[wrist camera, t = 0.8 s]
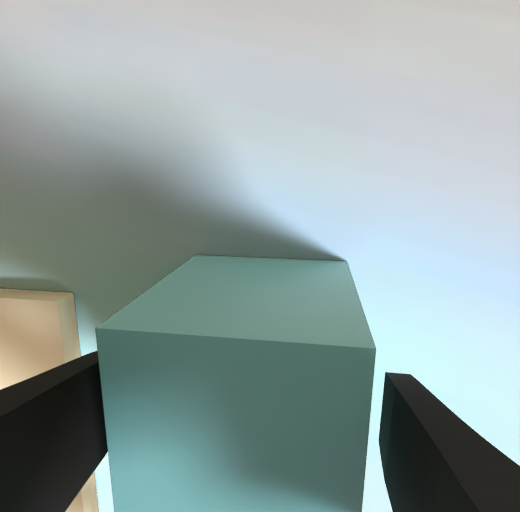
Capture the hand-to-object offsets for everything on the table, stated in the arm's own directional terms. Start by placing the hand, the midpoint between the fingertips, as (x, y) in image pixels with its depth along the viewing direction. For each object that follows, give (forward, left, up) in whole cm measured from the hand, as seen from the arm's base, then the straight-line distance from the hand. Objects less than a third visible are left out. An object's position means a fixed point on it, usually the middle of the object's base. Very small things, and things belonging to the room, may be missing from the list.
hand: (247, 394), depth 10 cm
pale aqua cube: (0, 0, -4) cm, 4 cm away
